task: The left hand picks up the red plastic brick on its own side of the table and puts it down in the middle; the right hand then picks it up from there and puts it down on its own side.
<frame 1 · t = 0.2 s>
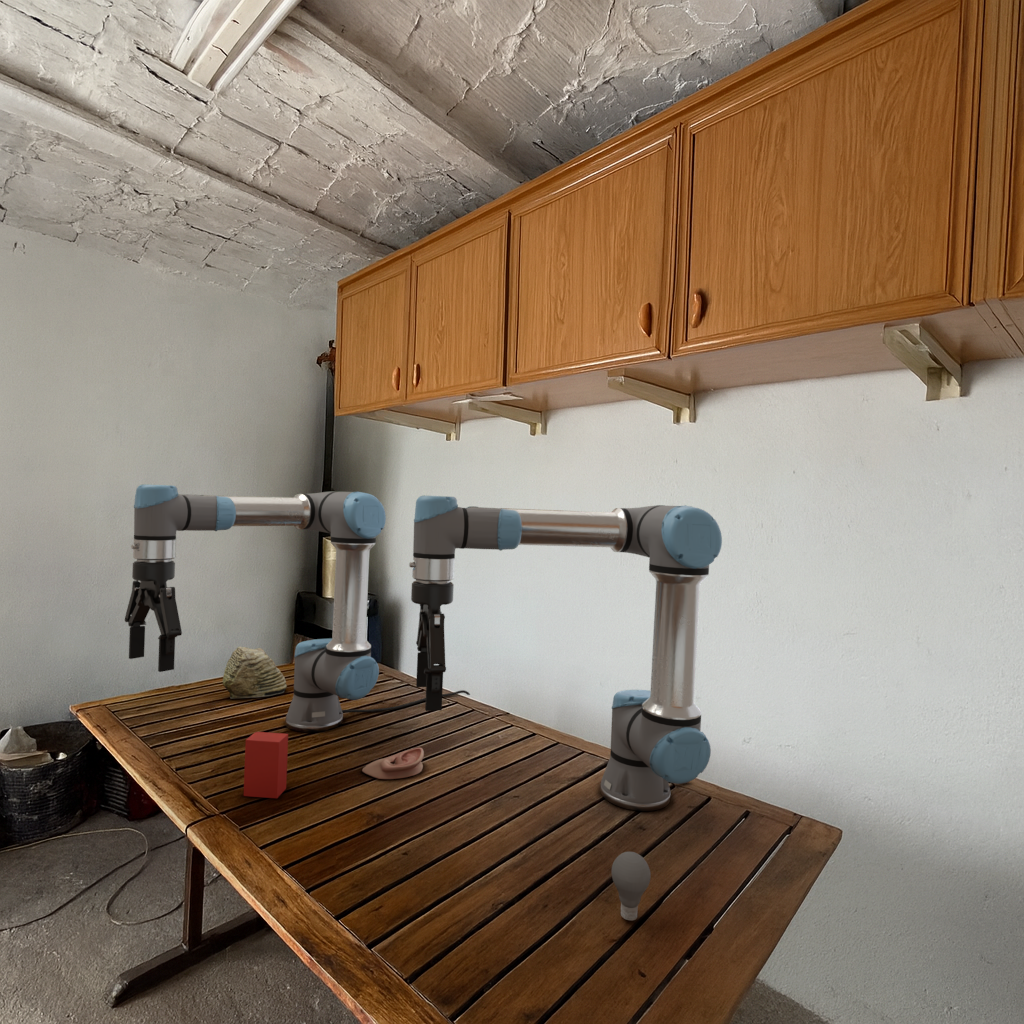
left hand: (150, 664, 129), 28 cm above the table, tool pointing down, fingers open, 13 cm apart
right hand: (428, 697, 115), 28 cm above the table, tool pointing down, fingers open, 13 cm apart
light bulb: (628, 919, 99), on the table
anatomical model: (393, 770, 148), on the table
brick: (265, 792, 135), on the table
fossil: (254, 694, 198), on the table
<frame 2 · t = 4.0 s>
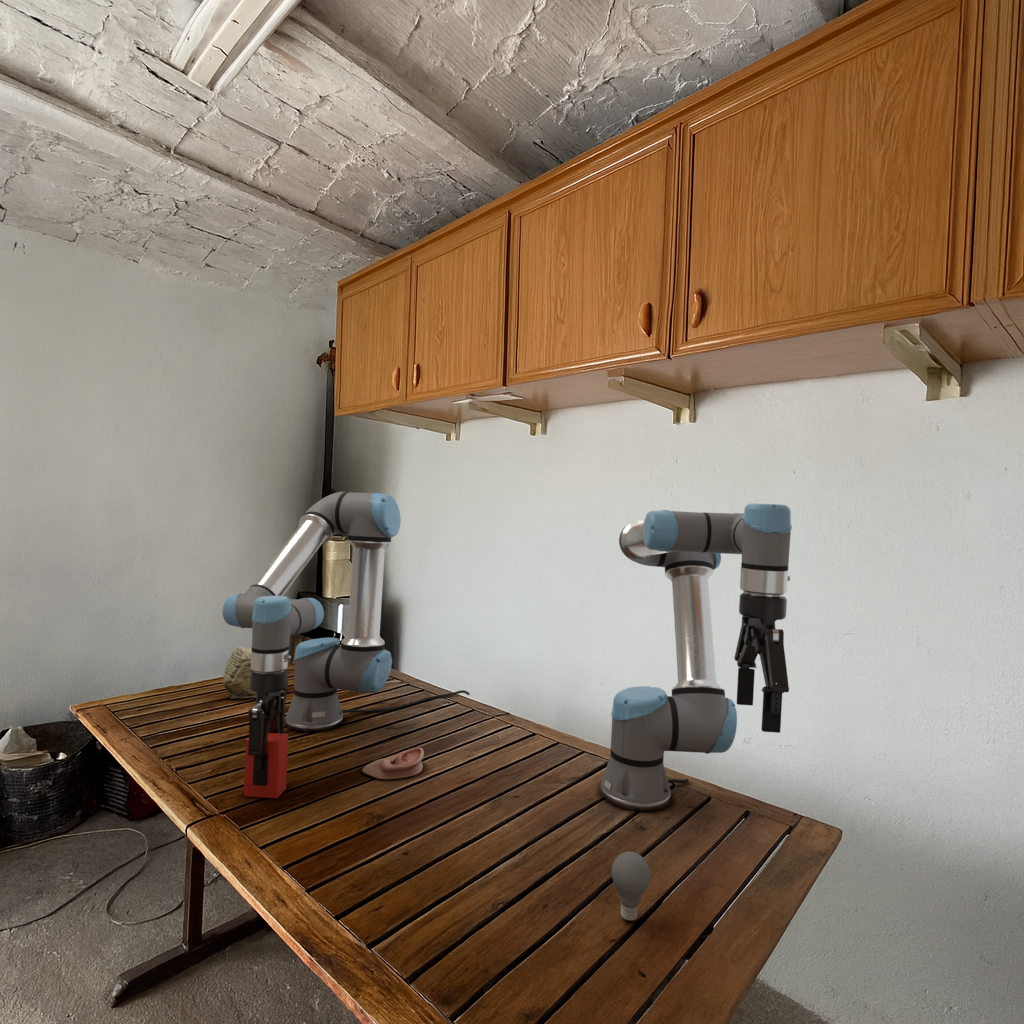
left hand: (265, 778, 135), 3 cm above the table, tool pointing down, fingers closed on brick, 5 cm apart
right hand: (756, 717, 109), 29 cm above the table, tool pointing down, fingers open, 13 cm apart
brick: (265, 792, 135), on the table, touching left hand
everything else where it was.
when the left hand's fingers open (4 cm above the table, at t = 9.4 s): brick drops 1 cm, on the table.
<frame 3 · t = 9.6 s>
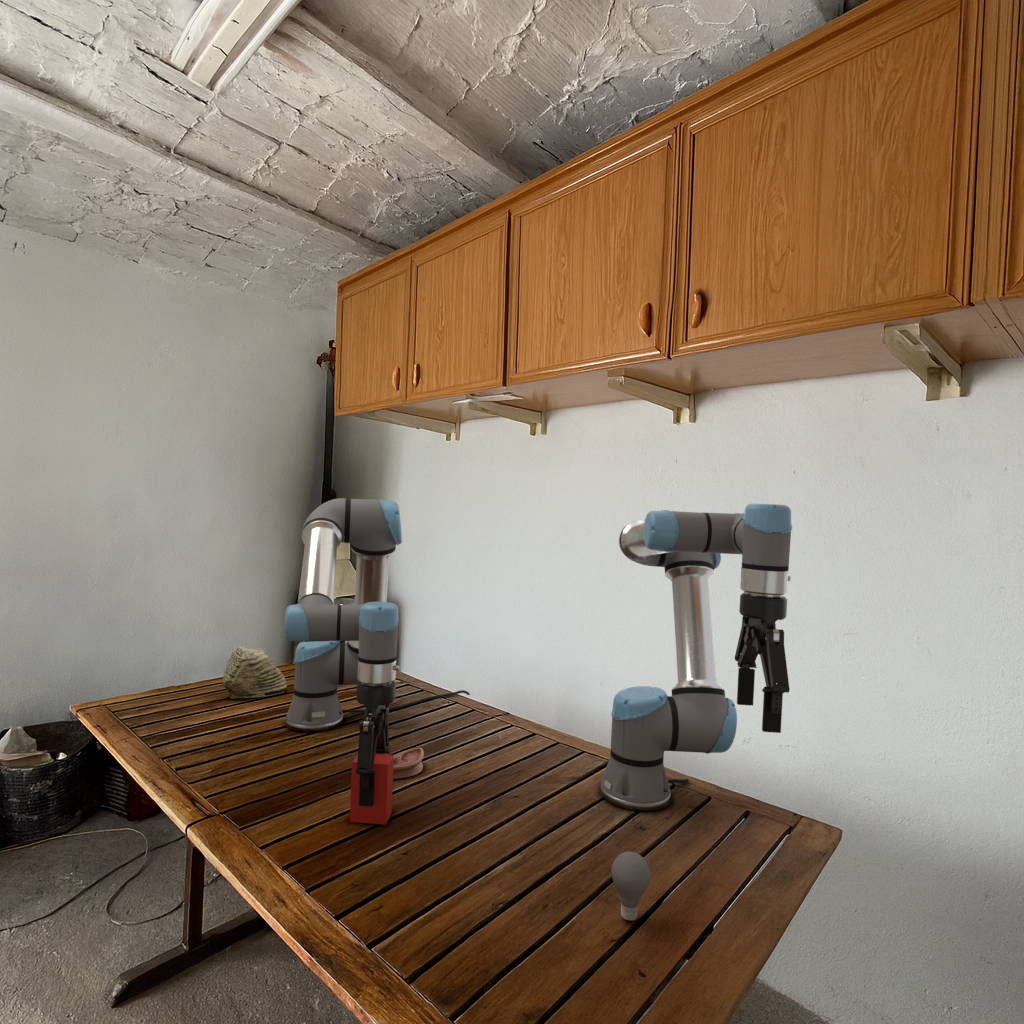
left hand: (372, 795, 126), 5 cm above the table, tool pointing down, fingers open, 7 cm apart
right hand: (757, 717, 109), 29 cm above the table, tool pointing down, fingers open, 13 cm apart
brick: (371, 817, 126), on the table
everything else where it was.
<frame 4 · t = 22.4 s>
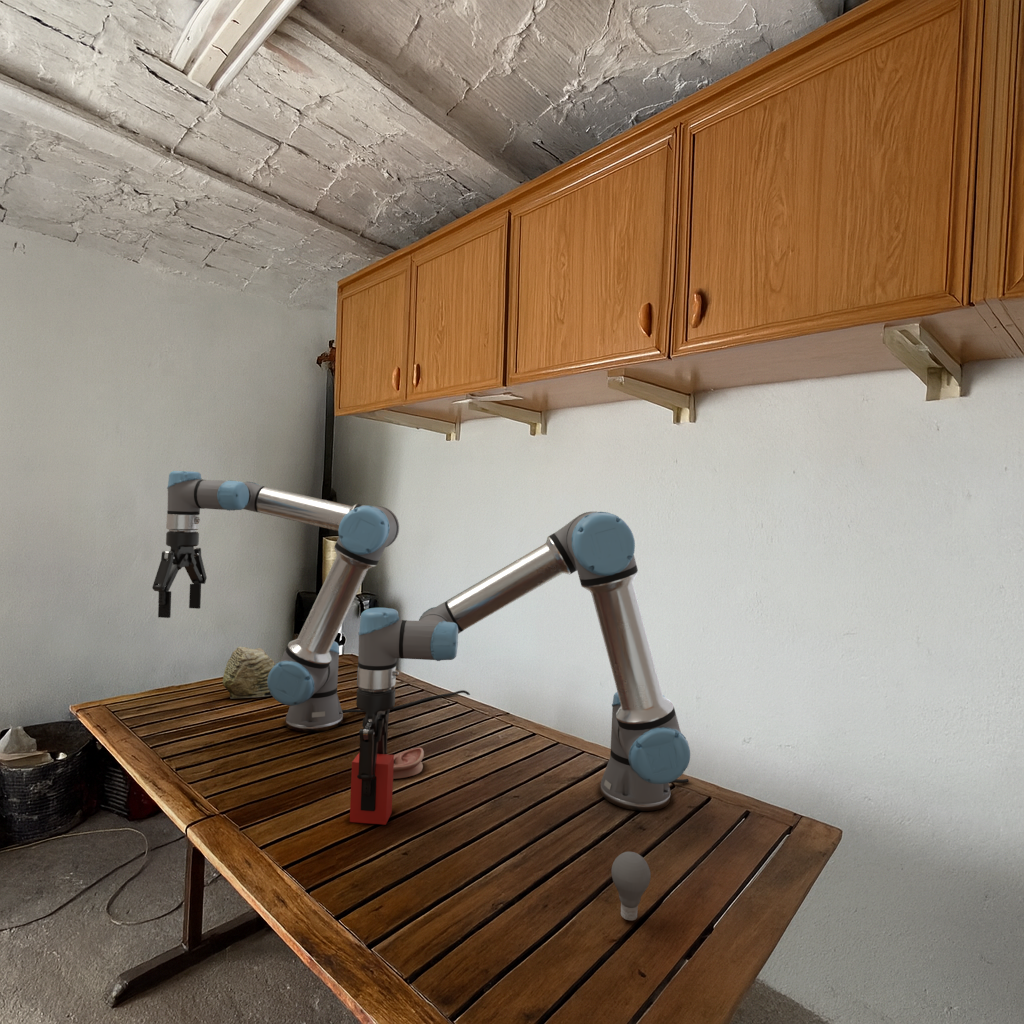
left hand: (180, 612, 164), 31 cm above the table, tool pointing down, fingers open, 13 cm apart
right hand: (371, 802, 126), 3 cm above the table, tool pointing down, fingers closed on brick, 5 cm apart
brick: (371, 817, 126), on the table, touching right hand
everything else where it was.
when the right hand's fingers open (4 cm above the table, at t = 34.0 s): brick drops 1 cm, on the table.
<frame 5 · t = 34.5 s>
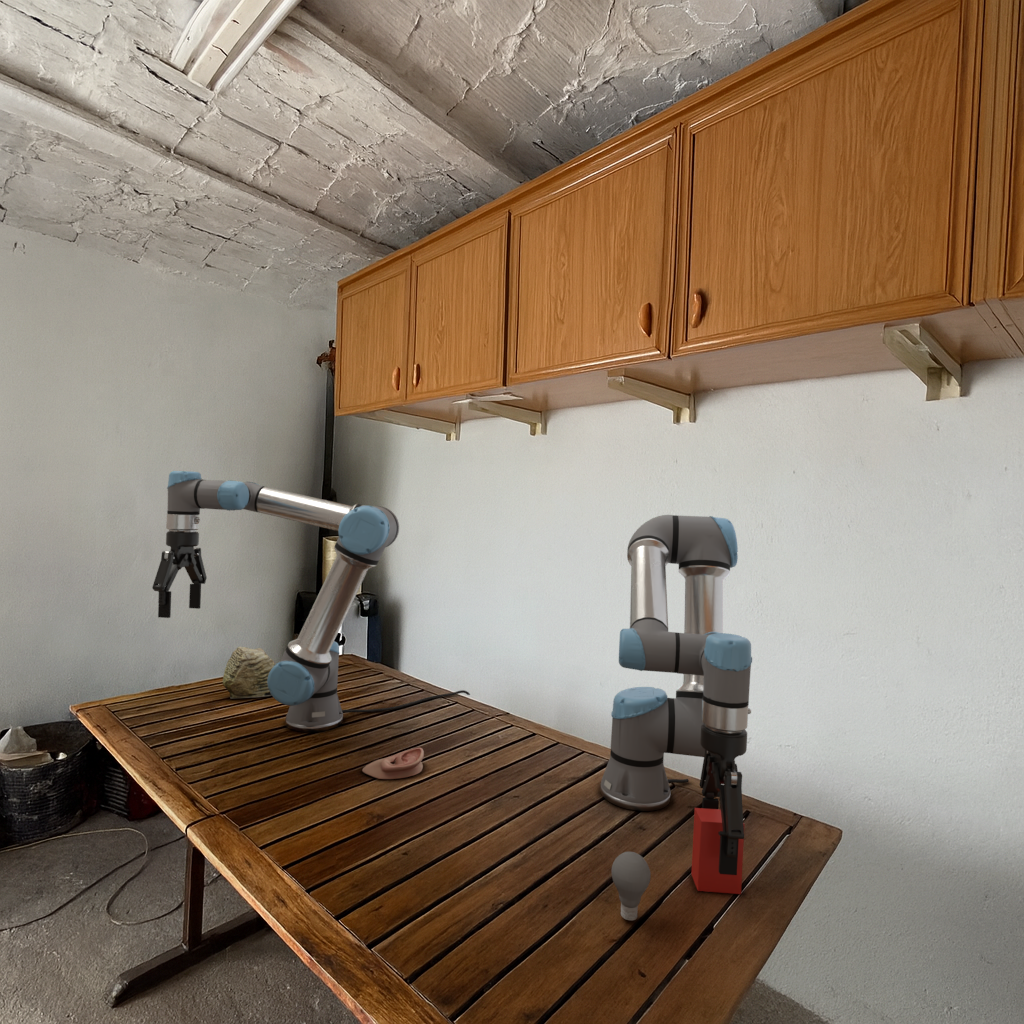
left hand: (180, 612, 164), 31 cm above the table, tool pointing down, fingers open, 13 cm apart
right hand: (717, 853, 109), 5 cm above the table, tool pointing down, fingers open, 11 cm apart
brick: (715, 884, 109), on the table
everything else where it was.
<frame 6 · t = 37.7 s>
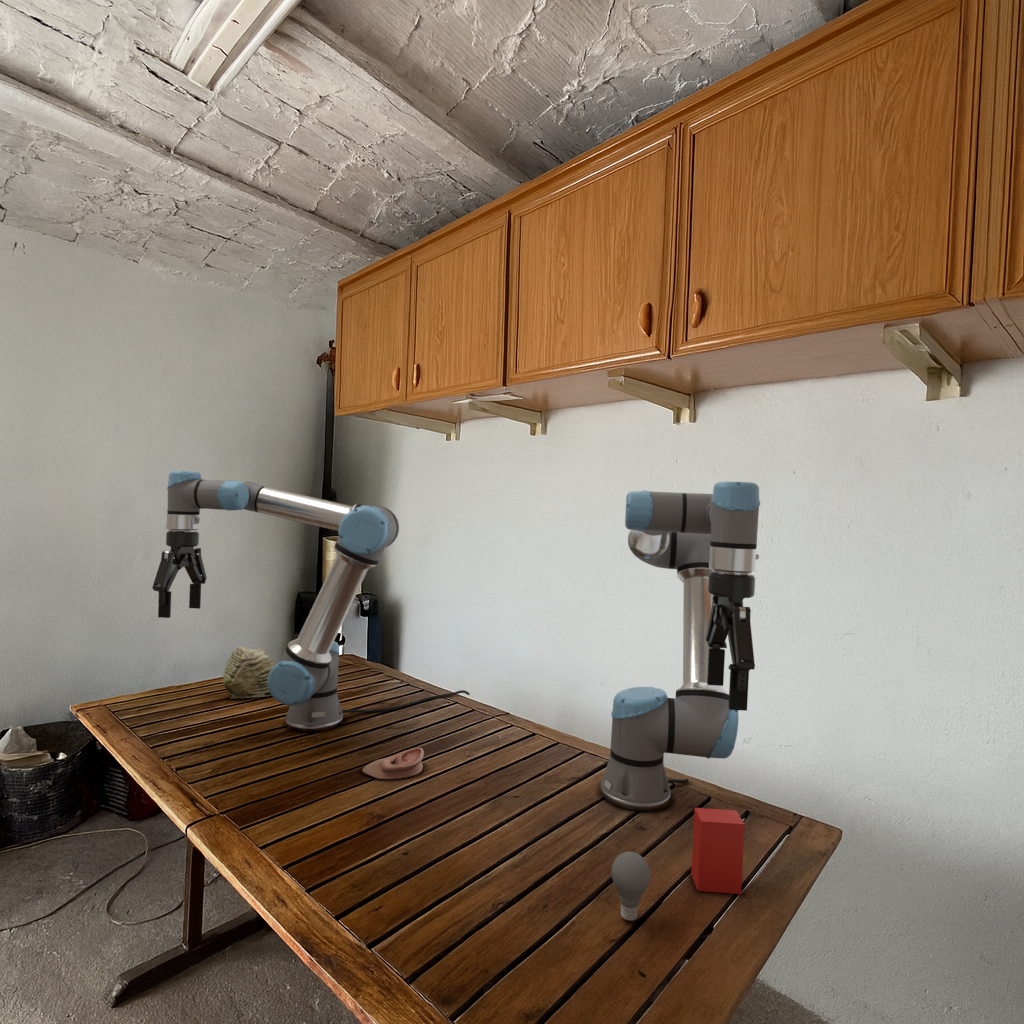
left hand: (180, 612, 164), 31 cm above the table, tool pointing down, fingers open, 13 cm apart
right hand: (725, 696, 108), 32 cm above the table, tool pointing down, fingers open, 13 cm apart
nothing on the table moved.
at the end: brick inside the target area (0.1 cm from its centre), on the table; brick tilted 0°; the two hands never held the brick at the same time; the left hand is holding nothing; the right hand is holding nothing; brick at rest at the end (0.0 cm/s) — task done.
